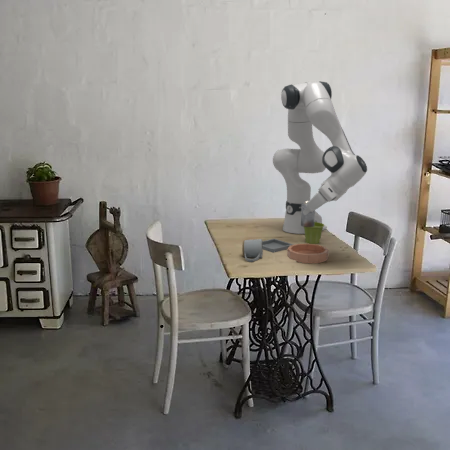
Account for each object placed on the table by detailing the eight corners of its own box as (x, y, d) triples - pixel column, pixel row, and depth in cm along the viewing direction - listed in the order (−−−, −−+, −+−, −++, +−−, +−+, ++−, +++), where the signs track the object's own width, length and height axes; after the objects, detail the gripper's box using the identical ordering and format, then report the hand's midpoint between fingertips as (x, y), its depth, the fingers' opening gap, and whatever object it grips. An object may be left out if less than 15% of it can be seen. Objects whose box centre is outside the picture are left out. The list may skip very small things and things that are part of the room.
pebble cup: (307, 223, 234) (308, 199, 232) (317, 225, 230) (318, 201, 228) (297, 225, 231) (298, 200, 229) (307, 227, 227) (308, 202, 225)
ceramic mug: (243, 254, 238) (243, 236, 236) (262, 254, 237) (263, 237, 235) (241, 262, 228) (241, 244, 226) (262, 263, 227) (262, 244, 225)
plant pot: (323, 241, 258) (324, 222, 256) (322, 246, 249) (323, 227, 247) (302, 239, 260) (303, 221, 257) (301, 245, 251) (301, 226, 249)
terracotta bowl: (306, 249, 245) (307, 241, 244) (335, 258, 233) (336, 250, 232) (279, 256, 235) (280, 248, 234) (308, 265, 223) (308, 257, 222)
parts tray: (274, 242, 255) (274, 238, 254) (293, 248, 246) (293, 244, 245) (253, 247, 247) (254, 243, 247) (273, 254, 238) (273, 249, 238)
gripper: (332, 179, 233) (308, 201, 239) (320, 187, 215) (294, 210, 221) (343, 191, 233) (318, 212, 239) (331, 200, 214) (304, 223, 220)
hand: (306, 211), depth 230 cm, fingers closed on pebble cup, 5 cm apart
